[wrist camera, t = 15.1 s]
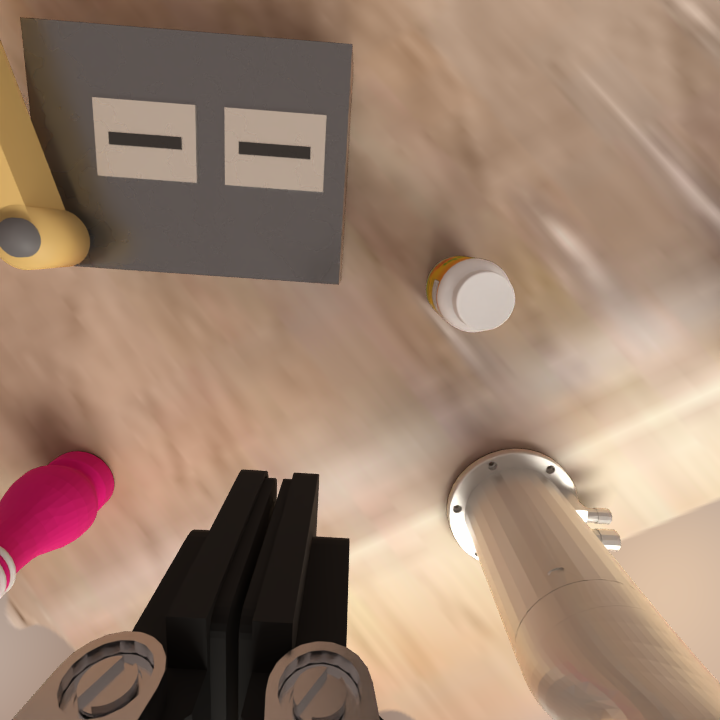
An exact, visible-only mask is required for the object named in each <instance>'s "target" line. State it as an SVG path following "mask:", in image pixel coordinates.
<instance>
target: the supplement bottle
mask: <svg viewBox="0 0 720 720" xmlns="http://www.w3.org/2000/svg"><path fill="white" fill-rule="evenodd" d="M426 296H427V299H428V301H429V303H430V305H431V307H432V308H433V309H434V310H435V311H436V312H437V313H438V314H439V315H440V316H441V317H442V318H443V319H444V320H446V321H447V322H448V323H449V324H450V325H452V326H453V327H455V328H457V329H459V330H462V331H465V332H481V331H485V330H491V329H494V328H497V327H498V326H500V325H502V324H503V323H504V322H505V321H506V320H507V319H508V318H509V317H510V315H511V313H512V311H513V309H514V305H515V293H514V289H513V287H512V285H511V283H510V281H509V279H508V277H507V275H506V273H505V272H504V271H503V270H502V269H501V268H500V267H499V266H498V265H496V264H495V263H493V262H491V261H488V260H485V259H479V258H471V257H465V256H453V257H449V258H446V259H444V260H442V261H440V262H439V263H438V264H437V265H436V266H435V267H434V268H433V269H432V270H431V272H430V274H429V276H428V278H427V282H426Z"/></svg>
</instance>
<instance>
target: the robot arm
mask: <svg viewBox="0 0 720 720" xmlns="http://www.w3.org/2000/svg"><path fill="white" fill-rule="evenodd" d="M490 462H492V463H490ZM489 463H490V464H489ZM318 491H319V474H307V473H294V474H293V477H292V479H283V482H282V485H281V488H280V491H279V494H278V497H277V479H276V478H268V472H267V471H258V470H241V471H240V473H239V475H238V477H237V479H236V481H235V482H234V484H233V486H232V488H231V490H230V492H229V494H228V496H227V498H226V500H225V502H224V504H223V506H222V508H221V510H220V512H219V513H218V515H217V517H216V519H215V521H214V523H213V525H212V527H211V529H210V530H192V531H191V532H190V533H189V535H188V536H187V538H186V540H185V541H184V543H183V545H182V546H181V548H180V550H179V552H178V553H177V555H176V557H175V558H174V560H173V562H172V564H171V565H170V567H169V569H168V570H167V572H166V574H165V576H164V577H163V579H162V581H161V582H160V584H159V586H158V588H157V589H156V591H155V593H154V595H153V596H152V598H151V600H150V601H149V603H148V605H147V607H146V608H145V610H144V612H143V613H142V615H141V617H140V619H139V620H138V622H137V624H136V625H135V627H134V629H133V631H132V632H131V631H124V632H119V633H114V634H108V635H106V636H103V637H101V638H98V639H96V640H94V641H91V642H89V643H88V644H86V645H85V646H83V647H81V648H80V649H78V650H77V651H75V652H74V653H72V654H71V655H70V656H69V657H68V658H67V659H66V660H65V661H64V662H63V663H62V664H61V665H60V666H59V667H58V668H57V669H56V670H55V671H54V672H53V673H52V675H51V676H50V677H49V678H48V679H47V680H46V681H45V683H44V684H43V685H42V686H41V687H40V688H39V689H38V690H37V692H36V693H35V694H34V695H33V696H32V697H31V699H30V700H29V701H28V702H27V703H26V704H25V705H24V706H23V707H22V709H21V710H20V711H19V712H18V713H17V714H16V715H15V716H14V718H13V719H12V720H383V719H382V718H381V717H380V716H379V713H378V708H377V702H376V697H375V692H374V687H373V682H372V679H371V676H370V673H369V671H368V668H367V666H366V665H365V664H364V663H363V661H362V660H361V659H360V657H359V656H358V655H356V654H355V653H354V652H352V651H351V650H349V649H348V648H347V647H346V640H347V607H348V574H349V538H332V537H316V529H317V510H318ZM455 505H456V506H455ZM447 518H448V522H449V526H450V529H451V531H452V534H453V537H454V538H455V540H456V541H457V543H458V544H459V546H460V547H461V548H462V549H463V550H464V551H465V552H466V553H467V554H469V555H470V556H471V557H473V558H474V559H476V560H479V561H480V564H481V566H482V569H483V572H484V574H485V577H486V580H487V582H488V585H489V588H490V590H491V593H492V595H493V598H494V601H495V603H496V606H497V609H498V611H499V614H500V616H501V619H502V622H503V624H504V627H505V630H506V632H507V635H508V638H509V640H510V643H511V645H512V648H513V651H514V653H515V656H516V659H517V661H518V663H519V666H520V668H521V671H522V674H523V676H524V679H525V681H526V683H527V685H528V687H529V689H530V691H531V693H532V694H533V696H534V697H535V699H536V701H537V702H538V703H539V705H540V706H541V707H542V708H543V709H544V711H545V712H546V713H547V714H548V715H549V716H550V717H551V718H552V719H553V720H720V682H719V681H718V680H717V679H716V678H715V677H714V676H713V675H712V674H711V673H710V672H709V671H708V670H707V668H706V667H705V666H704V665H703V664H702V663H701V661H700V660H699V659H698V658H697V657H696V656H695V654H694V653H693V652H692V651H691V650H690V649H689V647H688V646H687V645H686V644H685V643H684V642H683V641H682V639H681V638H680V637H679V636H678V635H677V634H676V632H674V630H673V629H672V628H671V627H670V625H669V624H668V623H667V622H666V620H665V619H664V618H663V617H662V616H661V615H660V613H659V612H658V611H657V610H656V608H655V607H654V606H653V605H652V603H651V602H650V601H649V600H648V599H647V598H646V596H645V595H644V594H643V593H642V592H641V590H640V589H639V588H638V587H637V585H636V584H635V583H634V582H633V581H632V579H631V578H630V577H629V576H628V574H627V573H626V572H625V571H624V569H623V568H622V567H621V566H620V564H619V563H618V562H617V561H616V559H615V558H614V557H613V556H612V554H611V553H610V552H609V551H618V550H619V549H620V546H621V540H620V536H619V534H618V533H617V531H615V530H611V529H590V527H589V526H588V525H587V524H586V523H587V522H593V523H597V524H610V523H611V521H612V515H611V512H610V510H609V509H606V508H585V506H584V505H582V504H581V503H580V502H579V501H578V495H577V490H576V488H575V486H574V483H573V481H572V480H571V478H570V477H569V475H568V474H567V472H566V471H565V470H564V469H563V468H562V467H561V466H560V465H559V464H558V463H557V462H555V461H554V460H553V459H551V458H550V457H548V456H546V455H544V454H541V453H539V452H536V451H531V450H527V449H507V450H500V451H497V452H493V453H490V454H488V455H486V456H484V457H482V458H480V459H478V460H476V461H475V462H474V463H472V464H471V465H469V466H468V467H467V468H466V469H465V470H464V471H463V472H462V473H461V474H460V475H459V477H458V478H457V480H456V481H455V483H454V485H453V487H452V489H451V492H450V494H449V498H448V503H447Z"/></svg>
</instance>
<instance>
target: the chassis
mask: <svg viewBox="0 0 720 720" xmlns="http://www.w3.org/2000/svg"><path fill="white" fill-rule="evenodd" d="M20 19H21V29H22V39H23V48H24V58H25V67H26V77H27V86H28V96H29V106H30V115H31V121H32V124H33V127H34V129H35V132H36V135H37V137H38V140H39V142H40V145H41V148H42V150H43V153H44V155H45V158H46V161H47V163H48V166H49V168H50V171H51V174H52V176H53V179H54V182H55V184H56V187H57V189H58V192H59V195H60V197H61V200H62V202H63V205H64V208H65V210H66V211H69V212H71V213H73V214H74V215H76V216H77V217H78V218H79V219H80V220H81V221H82V222H83V223H84V225H85V226H86V228H87V230H88V233H89V237H90V248H89V252H88V254H87V256H86V257H85V259H84V260H83V261H82V262H80V263H79V264H77V265H74V266H81V267H95V268H110V269H124V270H138V271H153V272H167V273H181V274H196V275H210V276H225V277H239V278H253V279H268V280H282V281H296V282H311V283H325V284H339V283H340V281H341V274H342V257H343V240H344V222H345V205H346V188H347V171H348V154H349V136H350V119H351V102H352V85H353V46H352V44H343V43H331V42H318V41H306V40H293V39H281V38H269V37H256V36H244V35H232V34H219V33H207V32H194V31H182V30H170V29H157V28H145V27H133V26H120V25H108V24H95V23H83V22H71V21H58V20H46V19H34V18H21V17H20Z"/></svg>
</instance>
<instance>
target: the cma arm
mask: <svg viewBox="0 0 720 720" xmlns="http://www.w3.org/2000/svg"><path fill="white" fill-rule="evenodd" d="M89 248H90V237H89V233H88V230H87V228H86V226H85V225H84V223H83V222H82V221H81V220H80V219H79V218H78V217H77V216H76V215H74V214H73V213H71V212H69V211H66V210H65V208H64V205H63V202H62V200H61V197H60V195H59V192H58V189H57V187H56V184H55V182H54V179H53V176H52V174H51V171H50V168H49V166H48V163H47V161H46V158H45V155H44V153H43V150H42V148H41V145H40V142H39V140H38V137H37V135H36V132H35V129H34V127H33V124H32V121H31V119H30V116H29V114H28V111H27V108H26V106H25V103H24V101H23V98H22V95H21V93H20V90H19V88H18V85H17V82H16V80H15V77H14V74H13V72H12V69H11V67H10V64H9V61H8V59H7V56H6V54H5V51H4V48H3V46H2V43H1V40H0V258H1V259H2V260H4V261H5V262H6V263H8V264H9V265H11V266H13V267H15V268H18V269H22V270H34V269H46V268H58V267H70V266H74V265H77V264H79V263H80V262H82V261H83V260H84V259H85V257H86V256H87V254H88V252H89Z"/></svg>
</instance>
